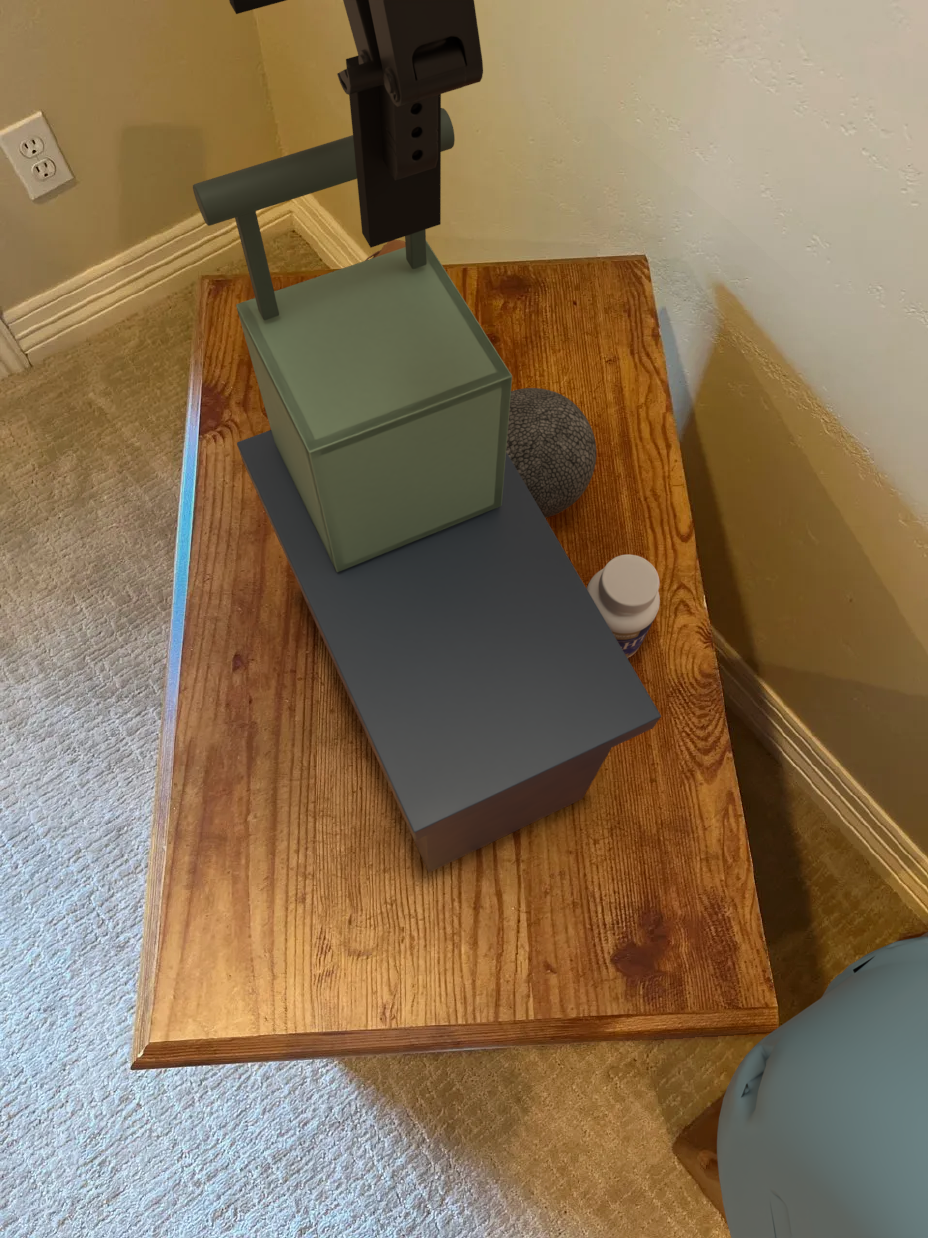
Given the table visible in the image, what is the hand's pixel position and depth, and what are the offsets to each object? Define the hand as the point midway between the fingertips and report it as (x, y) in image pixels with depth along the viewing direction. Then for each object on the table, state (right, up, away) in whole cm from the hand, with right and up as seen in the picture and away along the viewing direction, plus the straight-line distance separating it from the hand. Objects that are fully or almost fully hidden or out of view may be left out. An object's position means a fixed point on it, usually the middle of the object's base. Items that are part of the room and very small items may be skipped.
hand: (328, 107), depth 36 cm
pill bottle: (+16, -20, +37) cm, 45 cm away
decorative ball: (+10, -9, +42) cm, 44 cm away
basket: (+3, -11, +8) cm, 14 cm away
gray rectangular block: (+3, -25, +34) cm, 42 cm away
